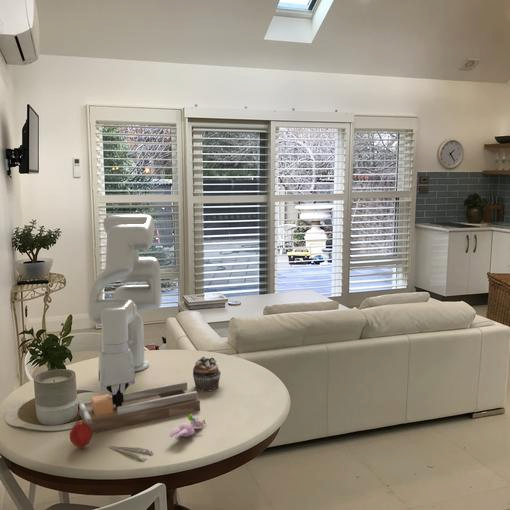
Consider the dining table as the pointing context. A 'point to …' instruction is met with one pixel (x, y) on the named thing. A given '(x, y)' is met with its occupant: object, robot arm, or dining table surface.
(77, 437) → the onion
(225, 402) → the dining table surface
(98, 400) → the block
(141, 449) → the tweezers
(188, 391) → the trap tube
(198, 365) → the cupcake
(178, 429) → the pink plastic figure
